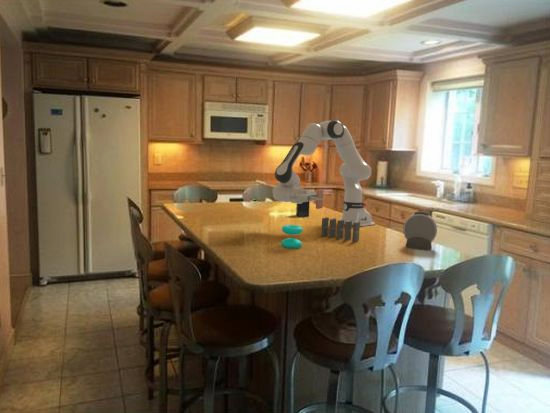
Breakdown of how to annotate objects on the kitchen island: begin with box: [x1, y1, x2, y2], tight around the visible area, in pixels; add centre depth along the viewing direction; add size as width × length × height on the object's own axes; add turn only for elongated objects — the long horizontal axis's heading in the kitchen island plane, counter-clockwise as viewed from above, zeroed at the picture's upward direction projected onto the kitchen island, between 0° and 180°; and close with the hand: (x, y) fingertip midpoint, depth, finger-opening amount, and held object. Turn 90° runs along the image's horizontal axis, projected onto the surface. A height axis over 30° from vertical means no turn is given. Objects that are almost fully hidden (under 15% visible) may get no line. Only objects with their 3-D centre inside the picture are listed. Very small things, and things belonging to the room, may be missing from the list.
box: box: [295, 201, 311, 217], centre depth 325 cm, size 8×6×11 cm
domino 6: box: [351, 221, 361, 243], centre depth 249 cm, size 2×5×10 cm, turn 148°
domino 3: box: [328, 217, 337, 239], centre depth 256 cm, size 2×5×10 cm, turn 148°
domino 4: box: [335, 218, 345, 240], centre depth 254 cm, size 2×5×10 cm, turn 148°
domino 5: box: [343, 220, 353, 242], centre depth 251 cm, size 2×5×10 cm, turn 148°
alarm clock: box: [402, 210, 438, 251], centre depth 239 cm, size 16×10×18 cm, turn 70°
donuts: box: [280, 224, 303, 250], centre depth 229 cm, size 10×10×10 cm
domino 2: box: [320, 216, 330, 238], centre depth 258 cm, size 2×5×10 cm, turn 148°
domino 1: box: [315, 189, 324, 210], centre depth 259 cm, size 2×5×10 cm, turn 148°
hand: (321, 198), depth 258 cm, fingers closed on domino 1, 5 cm apart
